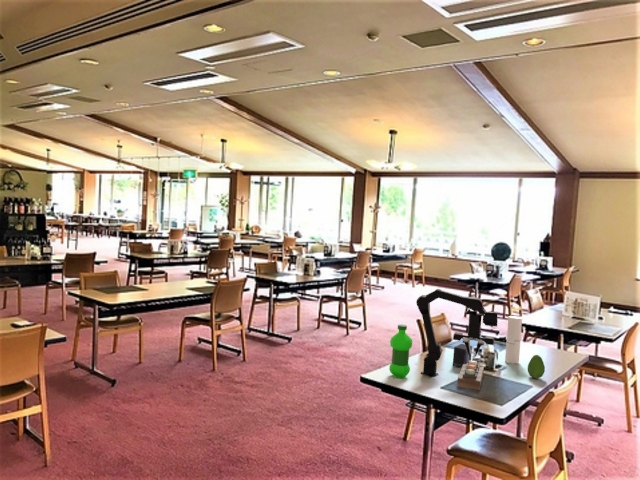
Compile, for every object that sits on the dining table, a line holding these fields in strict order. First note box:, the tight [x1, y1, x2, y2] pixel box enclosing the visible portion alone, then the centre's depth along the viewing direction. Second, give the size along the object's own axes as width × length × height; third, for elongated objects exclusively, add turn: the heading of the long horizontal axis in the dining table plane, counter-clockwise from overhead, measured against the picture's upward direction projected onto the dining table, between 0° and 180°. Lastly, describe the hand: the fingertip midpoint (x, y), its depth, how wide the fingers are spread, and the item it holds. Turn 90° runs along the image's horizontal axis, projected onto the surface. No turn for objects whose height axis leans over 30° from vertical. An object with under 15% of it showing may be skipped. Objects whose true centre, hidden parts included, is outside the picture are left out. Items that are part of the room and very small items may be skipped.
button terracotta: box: [467, 365, 476, 370], centre depth 252 cm, size 4×4×2 cm
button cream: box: [469, 359, 478, 366], centre depth 259 cm, size 4×4×2 cm
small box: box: [452, 343, 473, 369], centre depth 276 cm, size 11×6×10 cm, turn 143°
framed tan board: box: [456, 363, 485, 391], centre depth 252 cm, size 26×10×6 cm, turn 159°
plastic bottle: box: [389, 324, 413, 379], centre depth 251 cm, size 10×10×25 cm
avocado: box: [527, 354, 546, 380], centre depth 261 cm, size 8×8×12 cm
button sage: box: [466, 369, 475, 375], centre depth 244 cm, size 4×4×2 cm
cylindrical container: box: [504, 315, 523, 364], centre depth 289 cm, size 7×7×25 cm
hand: (472, 356), depth 251 cm, fingers open, 3 cm apart
